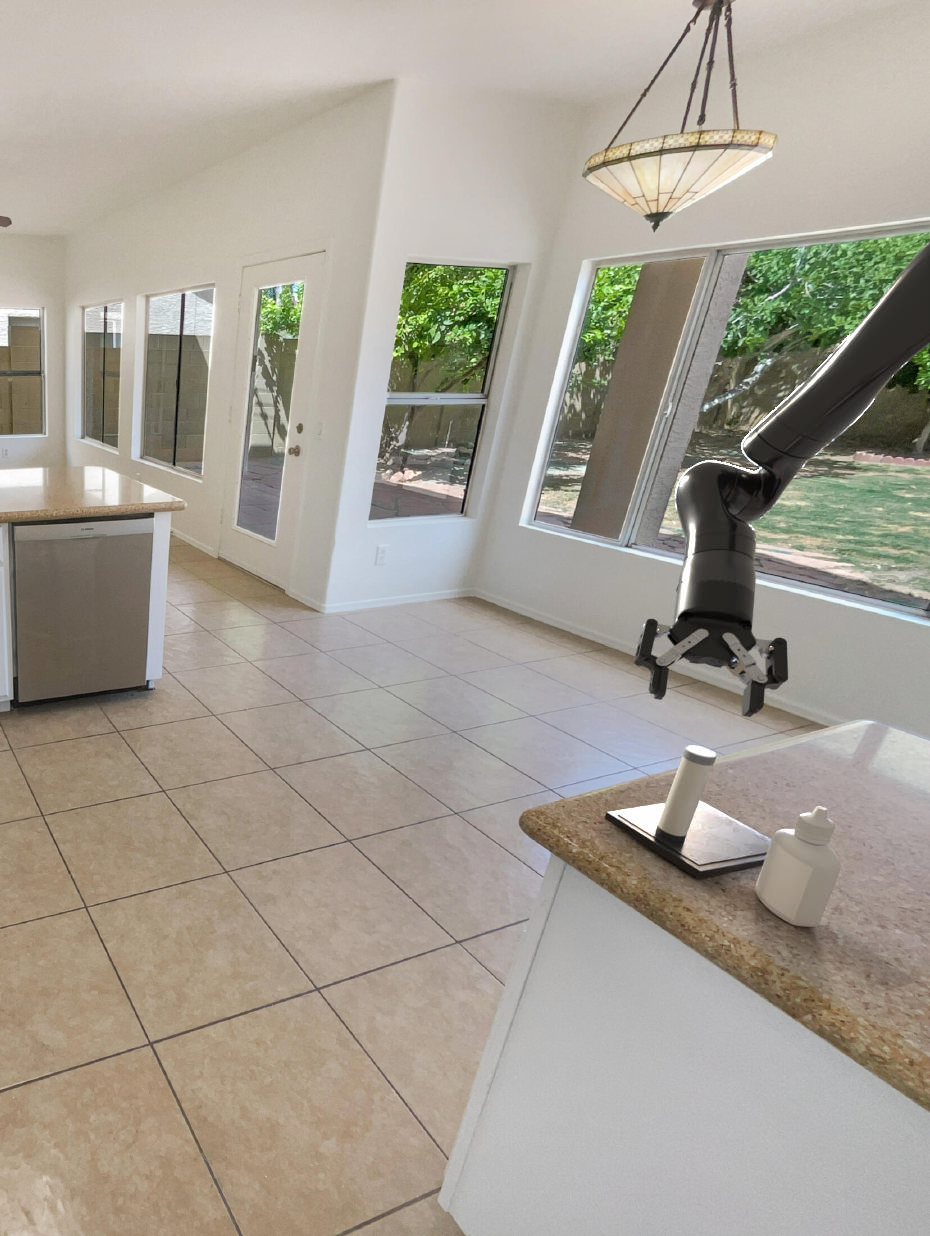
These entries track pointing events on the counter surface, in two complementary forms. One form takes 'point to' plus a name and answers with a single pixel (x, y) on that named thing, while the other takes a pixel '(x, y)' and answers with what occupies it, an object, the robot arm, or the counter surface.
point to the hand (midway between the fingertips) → (703, 705)
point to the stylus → (685, 792)
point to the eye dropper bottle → (800, 870)
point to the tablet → (697, 840)
